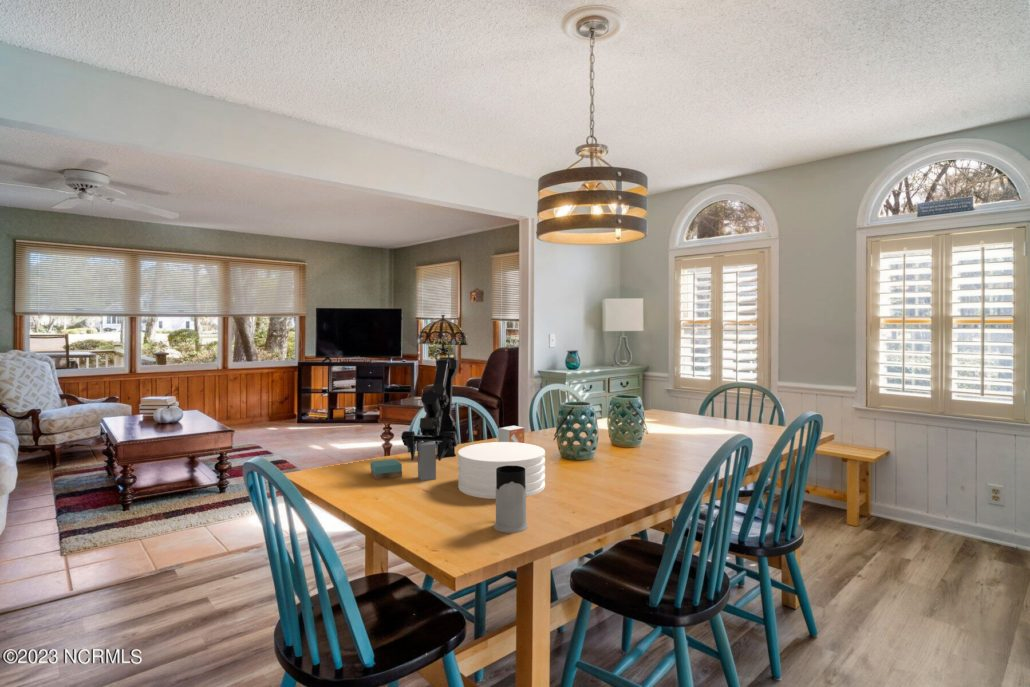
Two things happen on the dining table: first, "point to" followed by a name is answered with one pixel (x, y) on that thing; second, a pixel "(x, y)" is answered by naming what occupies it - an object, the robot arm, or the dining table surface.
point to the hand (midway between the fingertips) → (425, 460)
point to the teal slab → (385, 466)
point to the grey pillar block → (426, 461)
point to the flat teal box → (386, 475)
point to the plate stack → (487, 457)
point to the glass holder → (510, 499)
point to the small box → (511, 434)
